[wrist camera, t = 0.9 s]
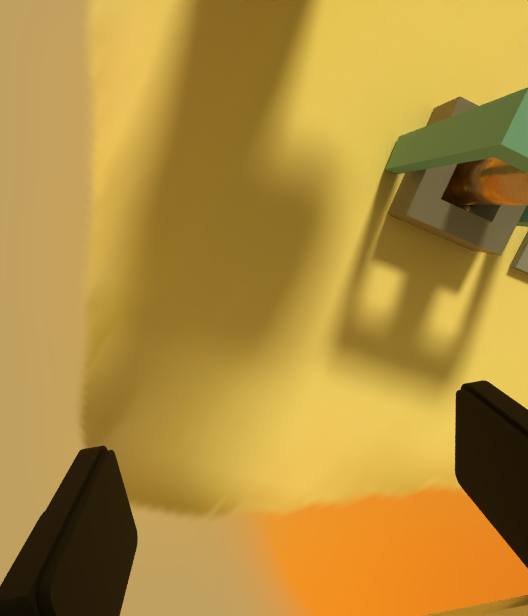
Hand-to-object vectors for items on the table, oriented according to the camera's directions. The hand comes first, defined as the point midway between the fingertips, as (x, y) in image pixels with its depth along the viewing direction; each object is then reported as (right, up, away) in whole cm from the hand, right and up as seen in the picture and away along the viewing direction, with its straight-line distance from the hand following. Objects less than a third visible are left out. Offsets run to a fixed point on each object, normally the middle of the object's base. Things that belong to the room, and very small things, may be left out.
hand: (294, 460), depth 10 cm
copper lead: (+17, +16, +27) cm, 36 cm away
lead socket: (+17, +16, +27) cm, 36 cm away
